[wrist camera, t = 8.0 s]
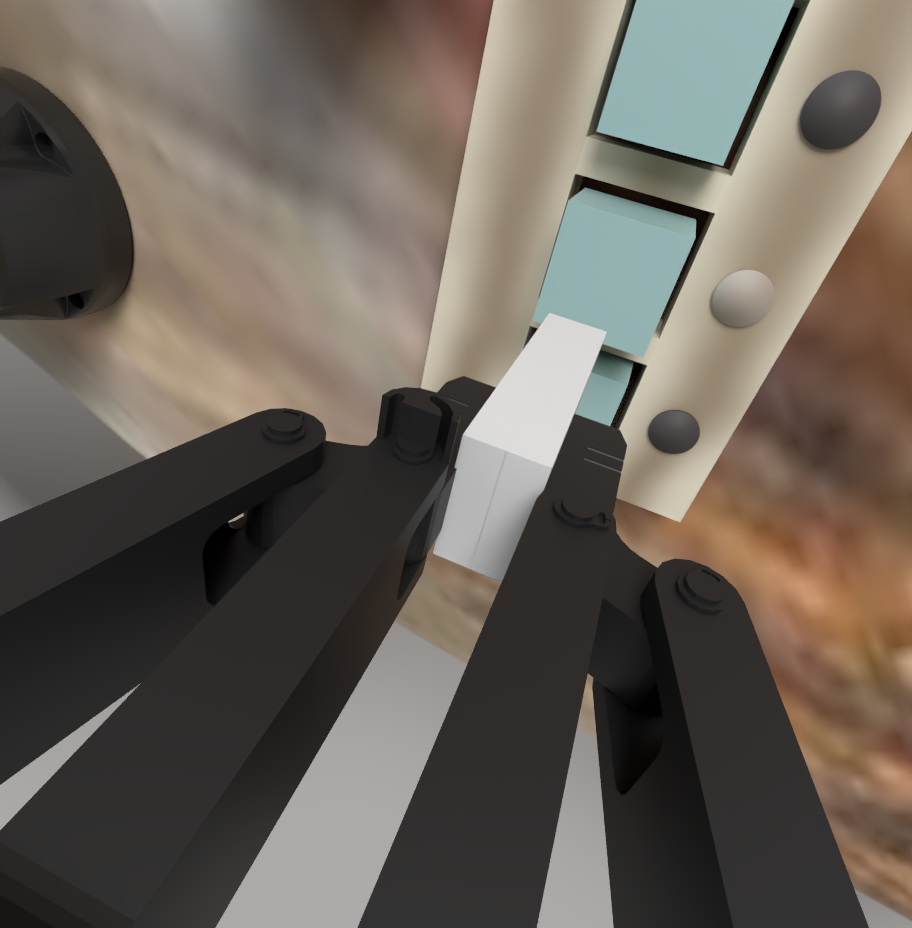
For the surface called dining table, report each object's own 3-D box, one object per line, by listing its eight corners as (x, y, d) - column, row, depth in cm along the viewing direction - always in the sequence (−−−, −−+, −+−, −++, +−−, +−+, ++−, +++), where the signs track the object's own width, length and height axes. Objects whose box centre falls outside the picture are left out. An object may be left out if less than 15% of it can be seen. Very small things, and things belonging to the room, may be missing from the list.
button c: (609, 127, 25) (596, 131, 22) (654, -14, 22) (646, -33, 19) (719, 157, 24) (722, 166, 21) (780, 14, 21) (794, -1, 18)
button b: (552, 294, 27) (532, 320, 24) (585, 187, 24) (568, 200, 21) (649, 326, 26) (643, 357, 23) (696, 219, 24) (695, 238, 20)
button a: (523, 401, 33) (504, 433, 30) (547, 324, 30) (529, 350, 27) (603, 430, 32) (592, 466, 29) (635, 354, 29) (627, 385, 26)
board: (433, 400, 36) (412, 422, 34) (542, -127, 22) (521, -156, 20) (681, 492, 34) (680, 524, 31) (984, -40, 19) (1027, -61, 17)
